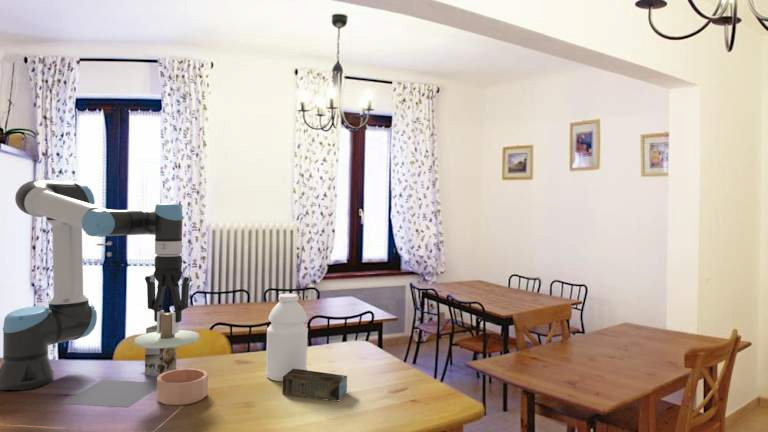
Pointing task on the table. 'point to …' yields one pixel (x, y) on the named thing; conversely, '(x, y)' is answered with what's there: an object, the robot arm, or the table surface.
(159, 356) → the coffee box
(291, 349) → the bottle
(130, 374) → the table surface
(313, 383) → the beverage carton
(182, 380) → the bowl
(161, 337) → the lid
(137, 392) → the mat
